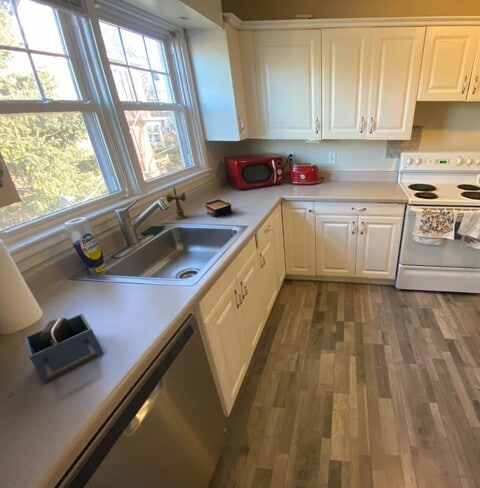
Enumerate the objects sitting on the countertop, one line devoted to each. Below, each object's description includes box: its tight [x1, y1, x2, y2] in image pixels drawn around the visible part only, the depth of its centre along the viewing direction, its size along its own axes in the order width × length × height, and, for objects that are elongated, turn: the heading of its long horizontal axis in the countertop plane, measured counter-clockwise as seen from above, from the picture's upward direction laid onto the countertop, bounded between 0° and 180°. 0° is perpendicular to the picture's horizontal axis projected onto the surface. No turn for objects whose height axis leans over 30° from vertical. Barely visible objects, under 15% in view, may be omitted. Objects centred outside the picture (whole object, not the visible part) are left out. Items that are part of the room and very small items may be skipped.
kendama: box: [165, 186, 187, 220], centre depth 170 cm, size 6×10×20 cm, turn 100°
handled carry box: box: [23, 313, 104, 384], centre depth 72 cm, size 18×12×9 cm, turn 50°
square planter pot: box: [202, 198, 233, 218], centre depth 180 cm, size 14×18×10 cm
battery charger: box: [40, 317, 75, 348], centre depth 73 cm, size 7×4×11 cm, turn 23°
